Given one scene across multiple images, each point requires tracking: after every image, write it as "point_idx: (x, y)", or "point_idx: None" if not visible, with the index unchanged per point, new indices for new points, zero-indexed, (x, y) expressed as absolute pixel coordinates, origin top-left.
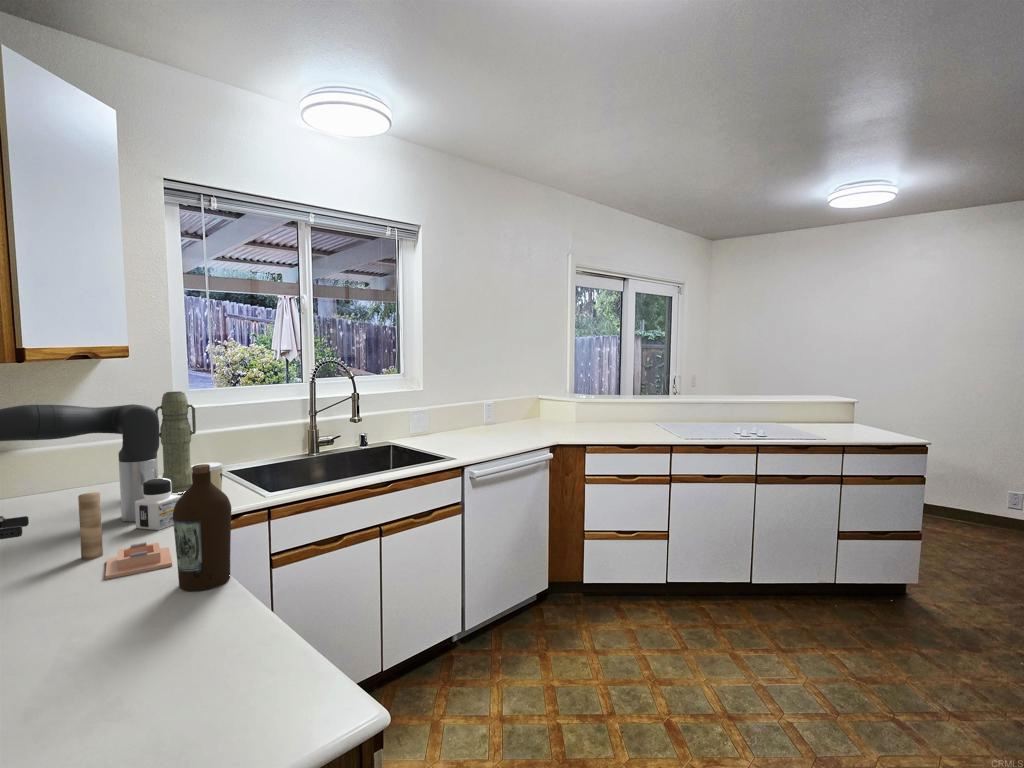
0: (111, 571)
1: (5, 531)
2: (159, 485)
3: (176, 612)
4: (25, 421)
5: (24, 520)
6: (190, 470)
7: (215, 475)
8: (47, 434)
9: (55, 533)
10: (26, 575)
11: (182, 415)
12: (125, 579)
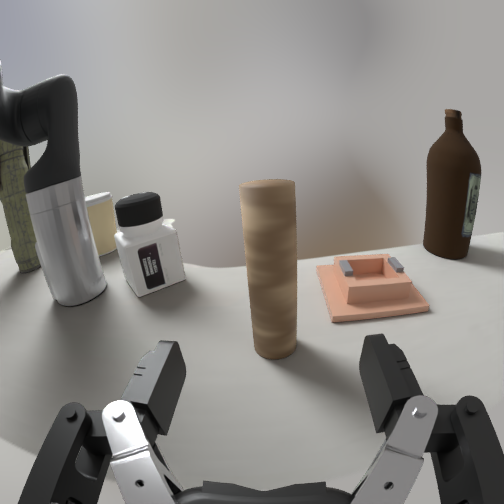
0: (410, 303)
1: (413, 375)
2: (158, 199)
3: (501, 258)
4: None
5: (176, 360)
6: None
7: (112, 205)
8: None
9: (27, 376)
10: (346, 440)
11: (21, 150)
12: (430, 294)
